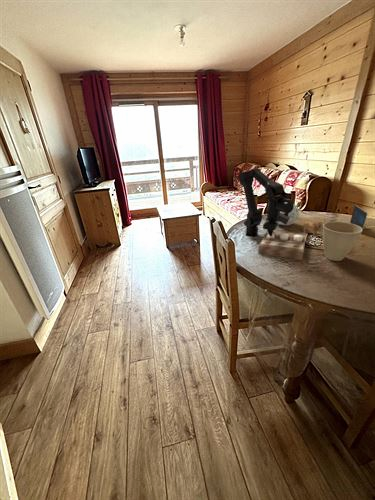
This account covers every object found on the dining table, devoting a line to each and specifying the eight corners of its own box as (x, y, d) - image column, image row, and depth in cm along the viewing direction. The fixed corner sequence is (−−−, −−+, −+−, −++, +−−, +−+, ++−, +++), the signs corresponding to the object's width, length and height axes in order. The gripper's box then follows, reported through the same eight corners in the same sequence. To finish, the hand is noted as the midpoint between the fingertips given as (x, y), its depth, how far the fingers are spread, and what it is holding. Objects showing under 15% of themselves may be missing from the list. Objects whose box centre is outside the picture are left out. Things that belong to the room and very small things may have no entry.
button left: (265, 242, 122) (265, 236, 121) (266, 239, 126) (267, 233, 124) (273, 243, 120) (274, 237, 119) (274, 240, 124) (275, 234, 122)
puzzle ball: (271, 226, 146) (273, 205, 139) (275, 220, 157) (278, 199, 151) (295, 229, 139) (299, 207, 132) (298, 222, 150) (302, 201, 143)
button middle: (278, 241, 118) (279, 235, 117) (279, 238, 122) (280, 232, 120) (287, 242, 116) (288, 236, 115) (288, 239, 120) (289, 233, 118)
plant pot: (338, 268, 96) (347, 235, 89) (309, 255, 109) (315, 225, 101) (360, 259, 101) (370, 228, 94) (330, 248, 113) (337, 219, 106)
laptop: (328, 223, 144) (332, 204, 139) (350, 224, 141) (355, 204, 135) (336, 234, 129) (341, 213, 123) (361, 234, 126) (368, 213, 120)
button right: (292, 243, 115) (293, 237, 114) (293, 240, 119) (294, 234, 117) (301, 244, 113) (302, 238, 112) (302, 241, 117) (303, 235, 115)
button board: (258, 253, 115) (258, 244, 112) (266, 237, 131) (267, 230, 129) (302, 260, 105) (303, 251, 103) (304, 242, 122) (306, 234, 120)
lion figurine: (325, 235, 128) (328, 221, 124) (320, 238, 125) (323, 223, 121) (301, 229, 139) (303, 215, 135) (296, 231, 136) (298, 217, 132)
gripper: (287, 215, 104) (283, 244, 111) (291, 205, 118) (288, 231, 125) (263, 213, 109) (261, 241, 116) (270, 204, 123) (268, 229, 130)
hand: (270, 235), depth 122 cm, fingers closed, pressing on button left
